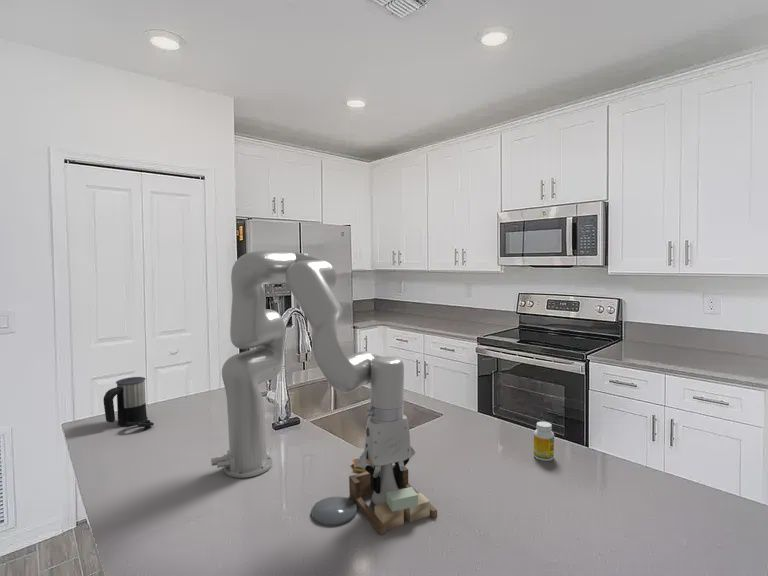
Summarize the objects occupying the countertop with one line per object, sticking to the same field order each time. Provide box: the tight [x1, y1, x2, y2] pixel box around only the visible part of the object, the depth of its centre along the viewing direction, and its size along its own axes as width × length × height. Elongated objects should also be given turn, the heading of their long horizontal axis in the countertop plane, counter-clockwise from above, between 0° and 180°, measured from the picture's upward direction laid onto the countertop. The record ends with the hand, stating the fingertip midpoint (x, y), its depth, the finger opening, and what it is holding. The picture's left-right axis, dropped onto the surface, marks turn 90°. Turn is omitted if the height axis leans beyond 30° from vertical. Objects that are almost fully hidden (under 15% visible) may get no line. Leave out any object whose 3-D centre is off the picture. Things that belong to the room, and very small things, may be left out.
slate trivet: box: [311, 496, 358, 527], centre depth 101 cm, size 10×10×1 cm
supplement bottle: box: [533, 421, 555, 462], centre depth 126 cm, size 5×5×10 cm
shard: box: [352, 458, 381, 473], centre depth 119 cm, size 11×8×2 cm
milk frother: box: [102, 376, 155, 429], centre depth 154 cm, size 14×16×15 cm
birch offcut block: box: [404, 492, 431, 523], centre depth 99 cm, size 5×4×4 cm
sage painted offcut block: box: [386, 486, 418, 512], centre depth 97 cm, size 6×4×2 cm, turn 109°
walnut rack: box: [348, 464, 438, 536], centre depth 103 cm, size 14×17×5 cm
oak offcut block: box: [374, 502, 405, 531], centre depth 97 cm, size 5×4×4 cm
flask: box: [370, 463, 400, 507], centre depth 104 cm, size 7×7×10 cm
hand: (386, 487), depth 104 cm, fingers closed on flask, 4 cm apart
